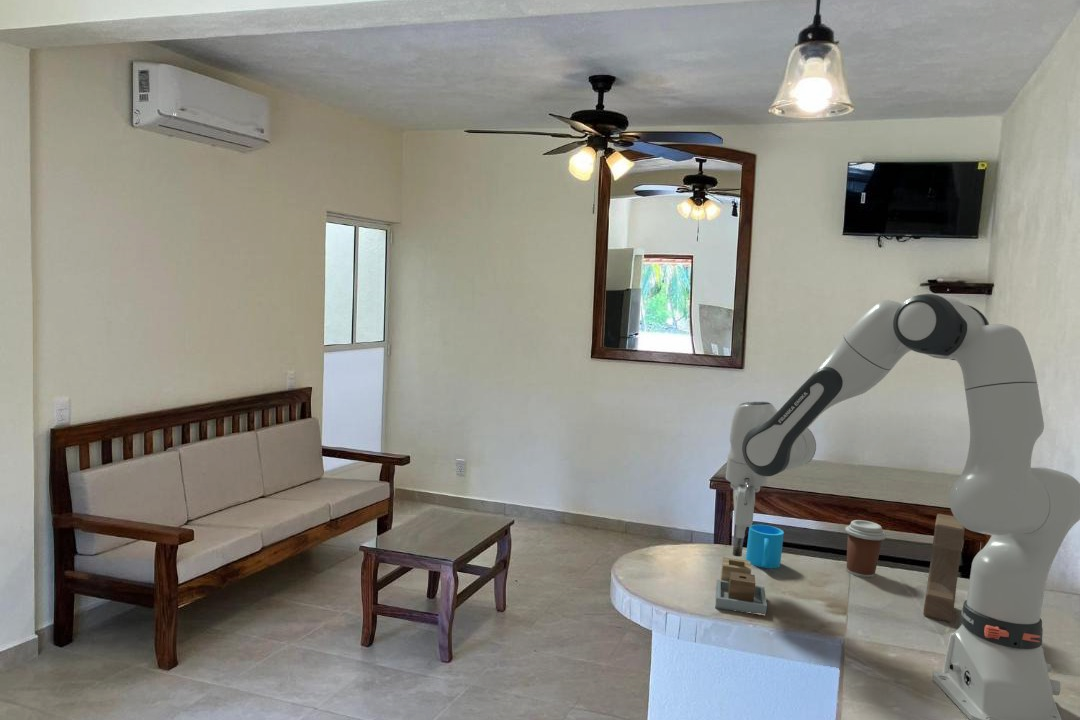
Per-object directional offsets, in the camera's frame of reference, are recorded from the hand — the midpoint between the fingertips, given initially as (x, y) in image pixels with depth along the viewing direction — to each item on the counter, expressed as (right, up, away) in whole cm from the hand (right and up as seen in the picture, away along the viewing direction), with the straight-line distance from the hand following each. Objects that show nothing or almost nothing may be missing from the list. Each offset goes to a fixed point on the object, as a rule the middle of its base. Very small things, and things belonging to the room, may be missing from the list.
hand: (739, 534), depth 182 cm
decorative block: (+42, -16, -4) cm, 45 cm away
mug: (+10, -11, +17) cm, 22 cm away
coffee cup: (+33, -13, +17) cm, 39 cm away
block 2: (-2, -12, -9) cm, 15 cm away
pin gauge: (0, -5, +1) cm, 5 cm away
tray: (-2, -12, -9) cm, 15 cm away
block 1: (-1, -11, +1) cm, 12 cm away
